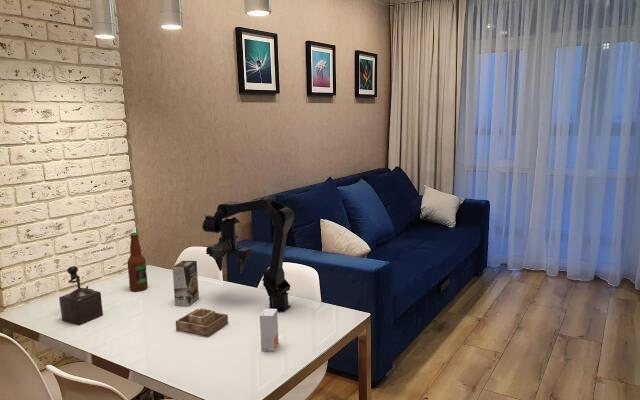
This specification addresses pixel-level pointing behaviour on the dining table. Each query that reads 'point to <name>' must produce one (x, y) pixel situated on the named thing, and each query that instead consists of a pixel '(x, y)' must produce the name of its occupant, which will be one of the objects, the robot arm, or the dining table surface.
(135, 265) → the bottle
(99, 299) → the manual coffee grinder
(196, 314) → the small crate
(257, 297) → the dining table surface
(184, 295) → the coffee box
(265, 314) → the skincare box
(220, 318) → the big crate
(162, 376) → the dining table surface
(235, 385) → the dining table surface
